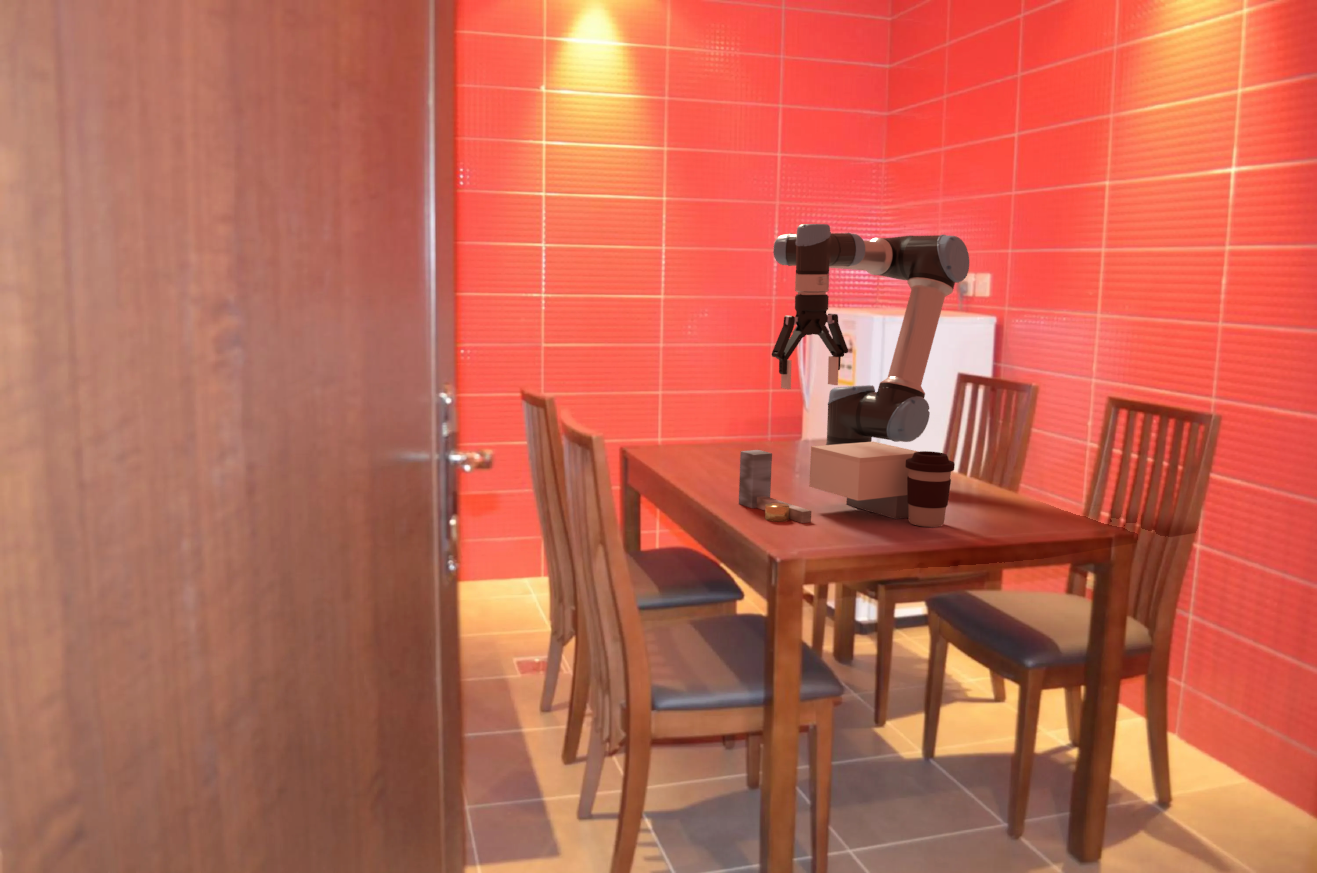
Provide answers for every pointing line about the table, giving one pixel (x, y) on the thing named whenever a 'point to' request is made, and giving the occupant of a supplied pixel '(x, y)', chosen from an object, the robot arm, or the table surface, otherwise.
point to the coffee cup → (928, 487)
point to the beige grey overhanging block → (864, 475)
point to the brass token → (777, 512)
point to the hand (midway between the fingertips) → (809, 386)
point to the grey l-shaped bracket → (762, 484)
